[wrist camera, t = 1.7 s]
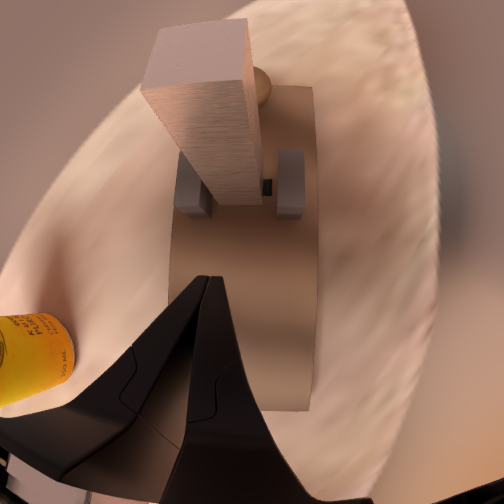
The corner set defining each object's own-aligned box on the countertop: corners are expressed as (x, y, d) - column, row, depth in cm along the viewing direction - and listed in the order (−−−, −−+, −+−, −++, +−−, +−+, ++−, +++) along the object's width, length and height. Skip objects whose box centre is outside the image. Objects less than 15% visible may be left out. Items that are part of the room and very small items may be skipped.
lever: (271, 209, 17) (265, 79, 5) (213, 209, 17) (121, 94, 6) (272, 171, 17) (266, 17, 6) (216, 171, 17) (144, 32, 6)
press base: (306, 401, 18) (315, 434, 13) (176, 392, 18) (150, 419, 14) (309, 98, 20) (316, 57, 15) (195, 99, 21) (178, 62, 16)
